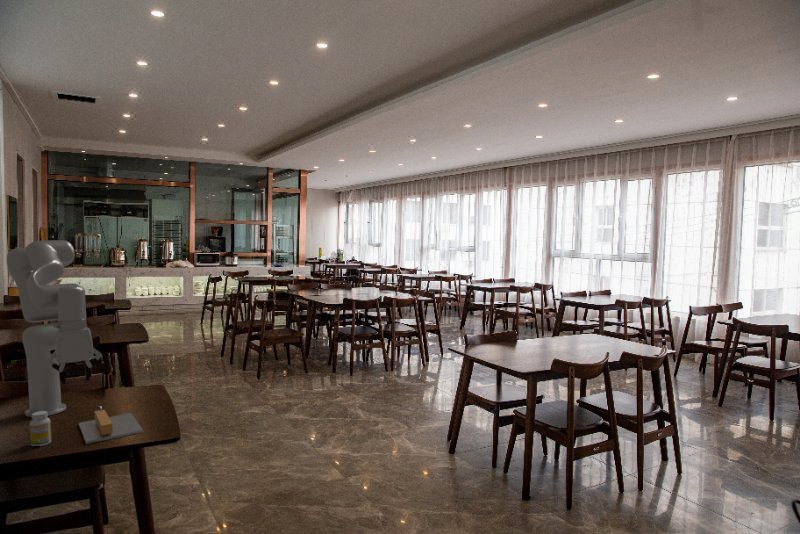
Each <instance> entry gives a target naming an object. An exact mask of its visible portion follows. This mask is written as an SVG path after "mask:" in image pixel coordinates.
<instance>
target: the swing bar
mask: <svg viewBox="0 0 800 534" xmlns="http://www.w3.org/2000/svg"><path fill="white" fill-rule="evenodd" d="M109 417H110V416H109V415H108V413H107V411H106V410H105V409H102V410H100V411H96V410H95V411H94V420H95V421H96V424H97V426H98V428H99V430H100V432H101V434H102V435H105V434H110V433H113V427H112V422H111V420H110V418H109Z"/></svg>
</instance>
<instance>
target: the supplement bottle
mask: <svg viewBox="0 0 800 534" xmlns="http://www.w3.org/2000/svg"><path fill="white" fill-rule="evenodd" d="M31 419H32V420H30V422H29V435H30V439H29V440H30V445H31V447H33V446H40V447H44V446H48V445H49V444H51V443H52V425H51V419H50V418H49V417H48V413H47V411H39V412H35V413H33V414H32V417H31Z"/></svg>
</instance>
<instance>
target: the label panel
mask: <svg viewBox="0 0 800 534" xmlns="http://www.w3.org/2000/svg"><path fill="white" fill-rule="evenodd" d="M102 406H103V405H96V406H95V411H100V410H103V407H102ZM108 417H109V418H110V420H111V422H112V427H113V433H110V434H105V435H102V434H101V432H100V430H99V428H98V426H97V424H96V421H95V419H93V420H86V421H81V422H78V426H79V429H80V432H81V435H82V437H83V440H84V443H85V445H89V444H90V445H91V444H93V443H94V444H95V443H98V442H99V443H100V442H102V441H103V442H105V441H107V440H112V439H118V438H123V437H128V436H132V435H136V434H142V433H144V430H143V428H142V426H141V425H140V423H139V422H138V420H137V418H135V416H134V415H133V414H132V413H131V412H129V413H124V414H119V415H114V416H108Z"/></svg>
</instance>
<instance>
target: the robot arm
mask: <svg viewBox="0 0 800 534" xmlns="http://www.w3.org/2000/svg"><path fill="white" fill-rule="evenodd" d="M75 257H76V252H75V249H74V246H73V245H72V243H71V242H69V241H67V240H62V239H58V240H55V239H53V240H49V239H48V240H36V241H32V242H30V243H29V244H27V246H25V247H16V248H13V249H11V250H10V251H8V253H7V254H6V265H7V269H8V272H9V275H10V276H11V278H12V281H14V283H15V285H16V287H17V290H18V296H19V301H20V307H21V311H22V312H21V313H22V315H23V318H24V320H25V321H26V322H28V323H43V322H44V323H43V324H36V325H32V326H31V325H30V326H29V327H27V328H26V329H25V330H24V331H23V332H22V335H21V338H22V339H21V340H22V344H23V348H24V353H25V357H26V358H25V360H26V367H27V370H26V371H27V383H28V384H27V385H28V397H29V398H28V399H29V400H28V401H29V402H28V403H29V408H27V409H26V410H25V411H24V416H26V417H28V418H29V417H30V418H32V414H33V413H35V412H39V411H47V413H48V416H54V415H57V414H59V413H63V412H64V411H65V410H66V409H67V404H65V403H63V402H62V394H61V384H62V385H66V372H65V366H66V364H69V363H78V362H85V363H84V364H86V365H85V367H84V374H85V380H86V381H88V382H89V381H90V378H92V368H93V366H95V364H96V363H97V362H98V361H99V360H100V358H101V357H103V354H102V353H101V352H100V351H99V350H97V349H96V348H95V347H94V346H93V343H94V342H93V337H92V333H91V332H92V331H91V329H90V328H89V327H88V324H87V311H86V309H87V308H86V305H87V304H86V291H85V288H84V287H83V286H82V285H80V284H78V283H71V282H70V283H56V284H55V283H54V282H56V281H57V280H59V279H60V278H61V277H62V276H63V275H64V273H65V267H67V266H69V265H71V264H72V263H73V261H74V260H75ZM51 283H54V284H51ZM52 321H53V322H52ZM54 321H57V322H54ZM45 322H48V323H45ZM49 322H50V323H49ZM51 322H52V323H51ZM51 351H53V353H51ZM94 355H95V356H94ZM48 416H47V417H48Z"/></svg>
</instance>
